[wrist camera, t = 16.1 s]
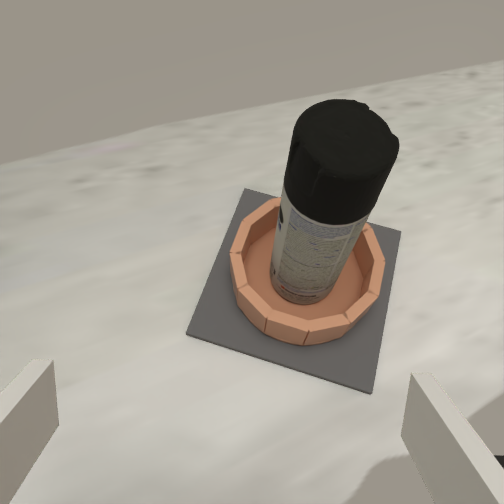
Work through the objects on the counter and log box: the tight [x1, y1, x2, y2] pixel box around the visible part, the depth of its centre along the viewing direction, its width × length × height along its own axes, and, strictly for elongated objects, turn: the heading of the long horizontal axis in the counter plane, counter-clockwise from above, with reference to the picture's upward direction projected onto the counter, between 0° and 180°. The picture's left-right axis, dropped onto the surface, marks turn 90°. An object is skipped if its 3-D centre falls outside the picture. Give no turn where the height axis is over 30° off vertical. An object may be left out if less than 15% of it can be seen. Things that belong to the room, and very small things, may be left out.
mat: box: [186, 188, 401, 394], centre depth 45 cm, size 18×18×1 cm
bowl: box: [230, 197, 385, 346], centre depth 43 cm, size 14×14×5 cm
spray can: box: [270, 99, 399, 305], centre depth 35 cm, size 7×7×20 cm
